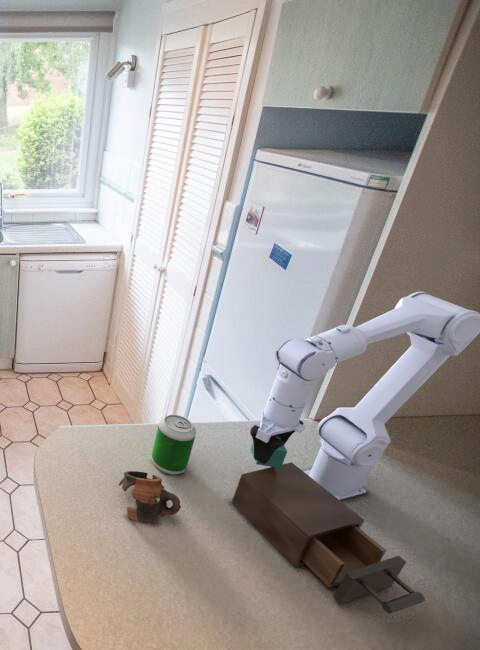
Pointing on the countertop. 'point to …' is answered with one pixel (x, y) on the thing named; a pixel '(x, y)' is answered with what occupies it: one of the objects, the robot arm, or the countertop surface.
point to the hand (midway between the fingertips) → (267, 453)
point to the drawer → (357, 567)
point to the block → (273, 457)
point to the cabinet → (290, 508)
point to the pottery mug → (148, 497)
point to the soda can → (173, 444)
